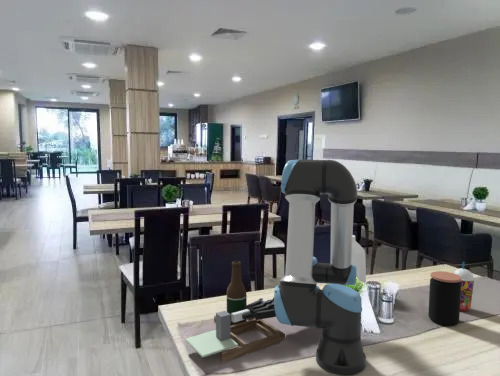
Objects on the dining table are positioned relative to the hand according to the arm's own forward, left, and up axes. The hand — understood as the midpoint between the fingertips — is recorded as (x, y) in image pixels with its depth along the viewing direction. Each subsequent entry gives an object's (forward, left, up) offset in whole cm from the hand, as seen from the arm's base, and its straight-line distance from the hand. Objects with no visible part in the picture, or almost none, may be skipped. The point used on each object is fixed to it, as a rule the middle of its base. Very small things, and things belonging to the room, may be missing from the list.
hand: (232, 317), depth 127 cm
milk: (+13, -73, -10) cm, 75 cm away
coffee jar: (-29, -78, -10) cm, 84 cm away
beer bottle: (+14, -10, -10) cm, 20 cm away
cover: (0, +8, -6) cm, 10 cm away
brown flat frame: (+6, -5, -10) cm, 12 cm away
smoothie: (-27, -95, -10) cm, 99 cm away
